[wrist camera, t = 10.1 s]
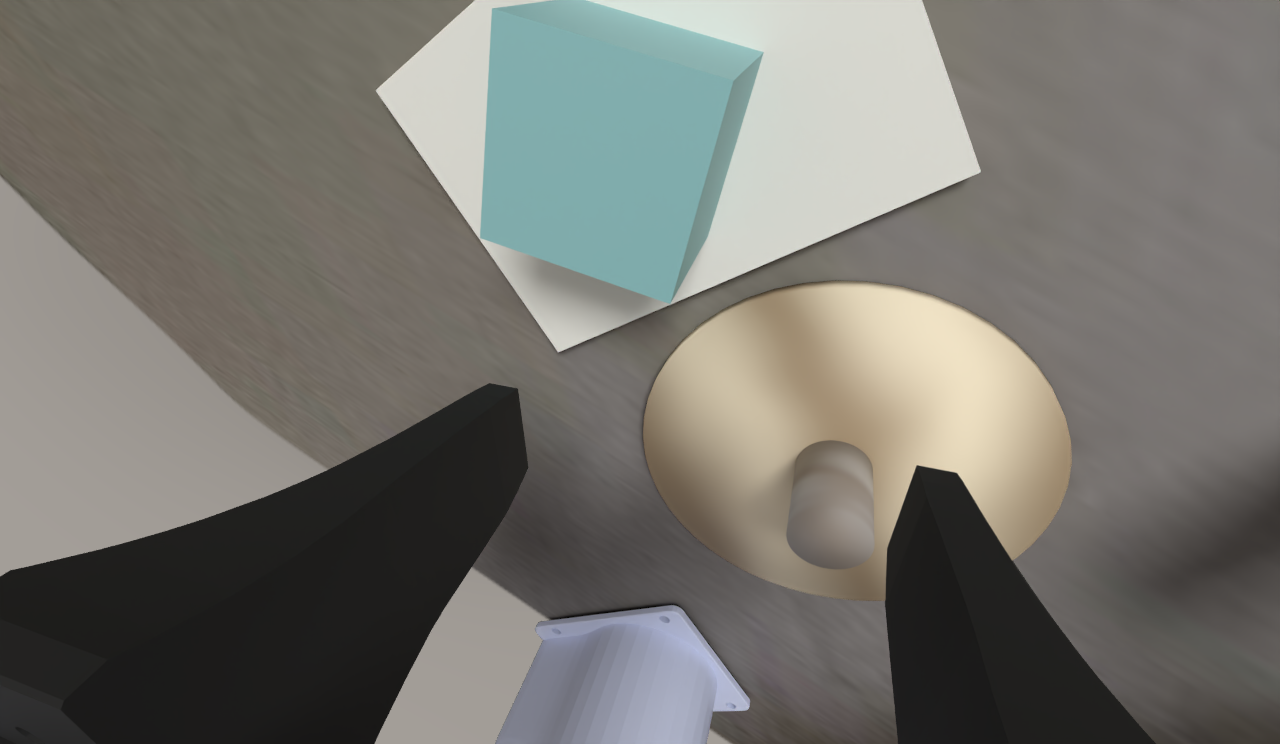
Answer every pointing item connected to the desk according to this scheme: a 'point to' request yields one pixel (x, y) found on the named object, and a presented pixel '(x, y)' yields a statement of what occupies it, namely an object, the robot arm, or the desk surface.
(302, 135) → the desk surface
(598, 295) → the mat
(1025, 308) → the desk surface
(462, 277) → the desk surface
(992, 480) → the post base
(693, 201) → the teal block
